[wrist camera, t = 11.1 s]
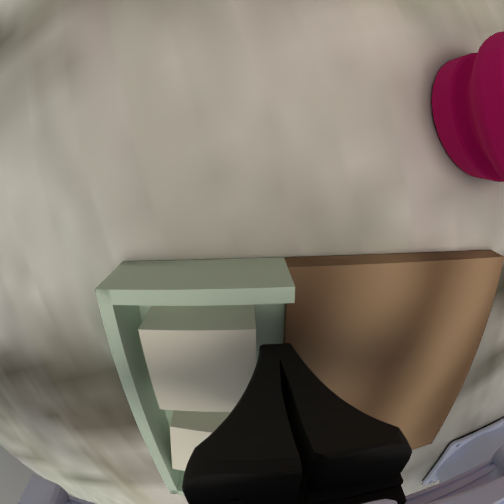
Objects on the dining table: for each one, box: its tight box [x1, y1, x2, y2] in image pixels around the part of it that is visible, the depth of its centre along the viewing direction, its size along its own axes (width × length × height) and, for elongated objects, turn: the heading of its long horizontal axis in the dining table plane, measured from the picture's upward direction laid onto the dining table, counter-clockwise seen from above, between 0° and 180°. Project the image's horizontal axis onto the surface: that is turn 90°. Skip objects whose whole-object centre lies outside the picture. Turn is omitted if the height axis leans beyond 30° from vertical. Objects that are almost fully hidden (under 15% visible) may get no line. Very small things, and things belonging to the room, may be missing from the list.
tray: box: [95, 257, 295, 495], centre depth 14 cm, size 7×15×3 cm, turn 1°
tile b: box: [138, 305, 257, 412], centre depth 13 cm, size 4×4×2 cm
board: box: [283, 250, 504, 450], centre depth 15 cm, size 12×15×1 cm
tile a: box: [170, 410, 231, 471], centre depth 14 cm, size 4×4×2 cm
